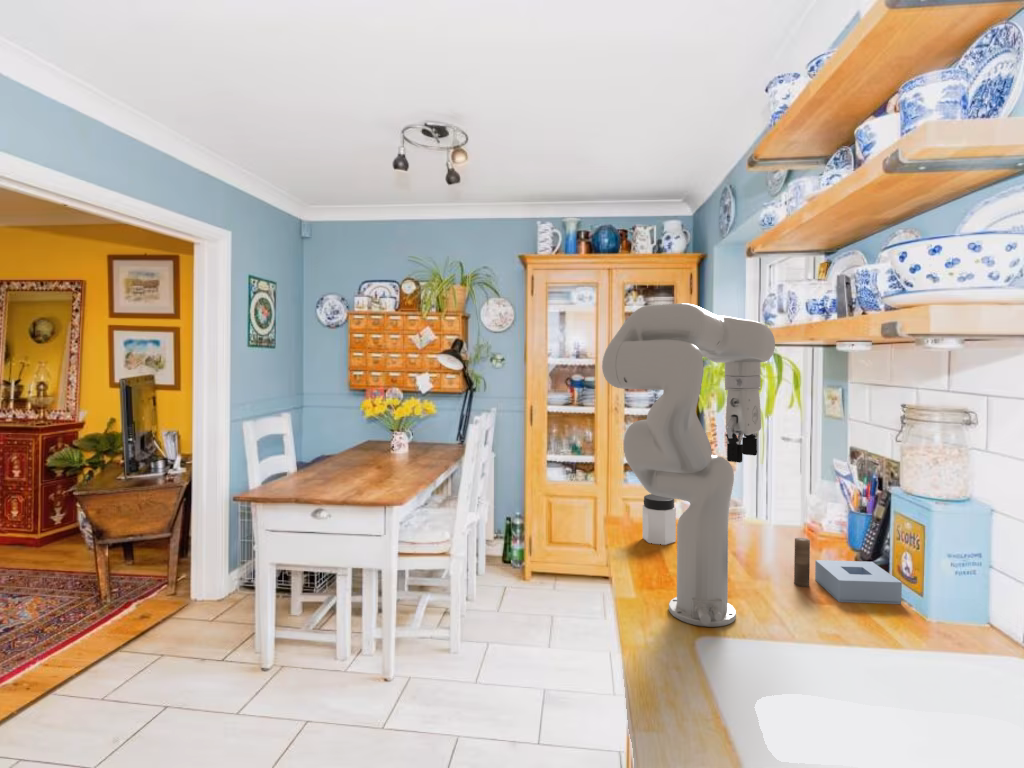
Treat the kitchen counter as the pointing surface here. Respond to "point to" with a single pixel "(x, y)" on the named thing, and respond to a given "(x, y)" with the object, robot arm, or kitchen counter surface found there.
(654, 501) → the jar
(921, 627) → the kitchen counter surface
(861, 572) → the hole block
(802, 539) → the peg
